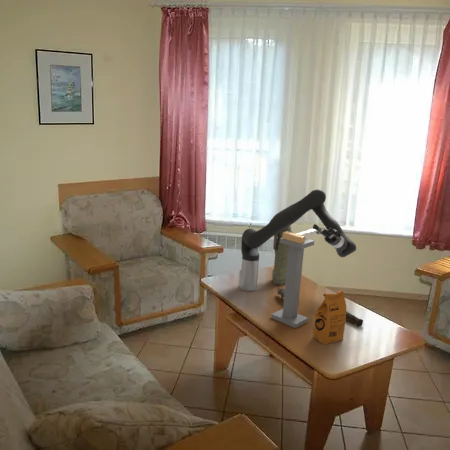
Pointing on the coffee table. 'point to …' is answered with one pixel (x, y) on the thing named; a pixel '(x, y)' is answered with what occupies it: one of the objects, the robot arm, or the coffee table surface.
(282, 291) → the rhino figurine
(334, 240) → the robot arm
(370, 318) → the coffee table surface
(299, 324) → the headphone stand
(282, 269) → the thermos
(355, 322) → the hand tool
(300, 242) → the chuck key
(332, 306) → the coffee package
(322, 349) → the coffee table surface
